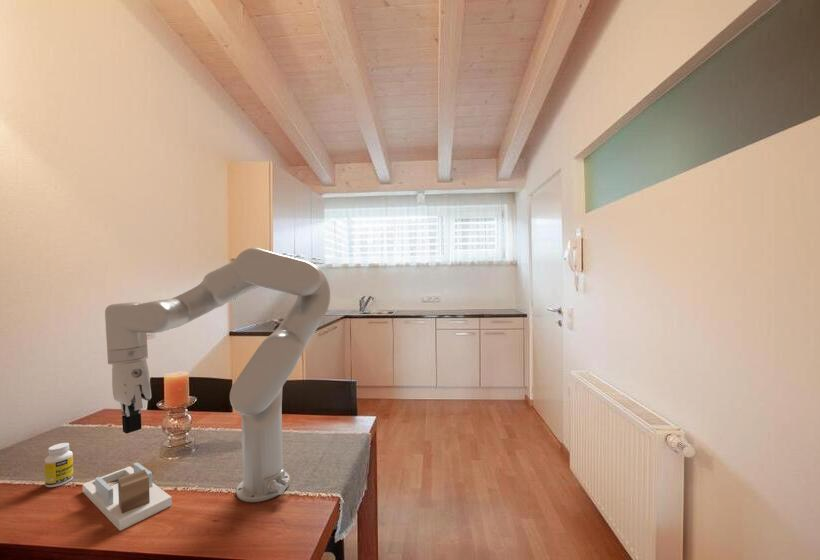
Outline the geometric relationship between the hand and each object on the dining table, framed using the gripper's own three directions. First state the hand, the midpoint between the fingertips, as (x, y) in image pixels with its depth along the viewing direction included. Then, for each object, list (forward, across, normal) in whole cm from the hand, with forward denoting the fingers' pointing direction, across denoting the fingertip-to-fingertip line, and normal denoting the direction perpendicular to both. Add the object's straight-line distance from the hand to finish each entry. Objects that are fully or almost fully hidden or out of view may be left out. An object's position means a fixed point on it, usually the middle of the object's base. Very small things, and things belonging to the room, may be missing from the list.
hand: (132, 430), depth 84 cm
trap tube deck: (+18, +5, +1) cm, 18 cm away
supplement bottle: (+18, +30, +8) cm, 35 cm away
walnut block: (+16, -3, +1) cm, 16 cm away
